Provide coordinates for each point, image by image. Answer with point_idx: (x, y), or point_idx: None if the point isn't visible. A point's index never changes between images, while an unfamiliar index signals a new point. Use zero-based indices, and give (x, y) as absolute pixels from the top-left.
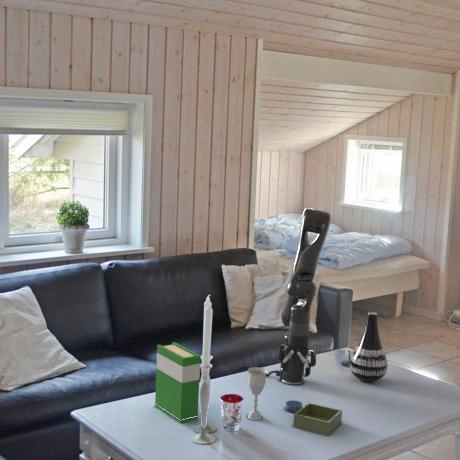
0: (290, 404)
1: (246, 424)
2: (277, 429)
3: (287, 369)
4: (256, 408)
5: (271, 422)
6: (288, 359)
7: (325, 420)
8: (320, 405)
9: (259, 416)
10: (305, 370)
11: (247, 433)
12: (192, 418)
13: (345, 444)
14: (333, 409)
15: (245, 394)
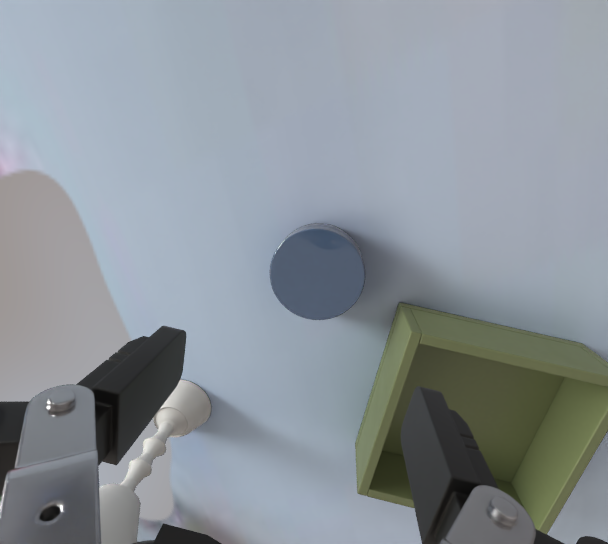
0: (300, 295)
1: (180, 469)
2: (300, 478)
3: (173, 356)
4: (169, 435)
5: (260, 429)
6: (88, 438)
7: (500, 370)
8: (490, 352)
9: (201, 421)
10: (417, 504)
11: (211, 529)
12: None
13: (587, 532)
14: (575, 378)
15: (31, 158)
